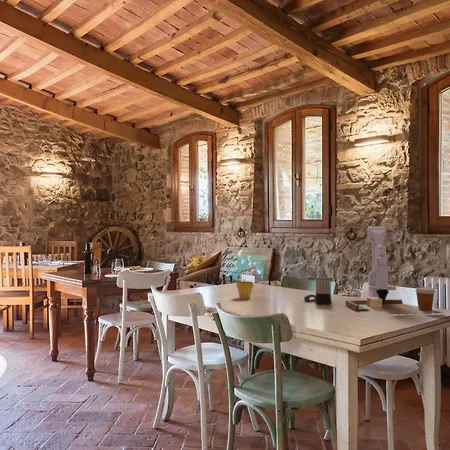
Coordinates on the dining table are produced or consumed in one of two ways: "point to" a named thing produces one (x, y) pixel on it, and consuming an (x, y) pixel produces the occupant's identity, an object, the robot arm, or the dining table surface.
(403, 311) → the dining table surface
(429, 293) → the disposable coffee cup
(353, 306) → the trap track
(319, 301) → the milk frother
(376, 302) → the maple block
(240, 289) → the plant pot
